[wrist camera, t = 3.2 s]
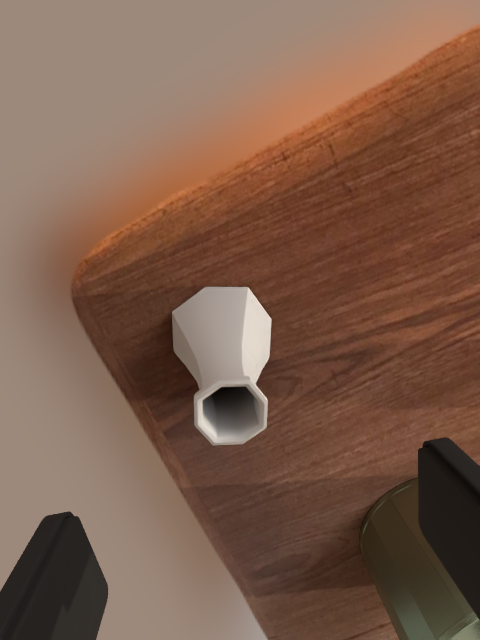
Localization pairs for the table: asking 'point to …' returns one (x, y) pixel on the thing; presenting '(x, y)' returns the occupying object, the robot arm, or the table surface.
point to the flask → (225, 360)
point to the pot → (408, 568)
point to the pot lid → (463, 629)
